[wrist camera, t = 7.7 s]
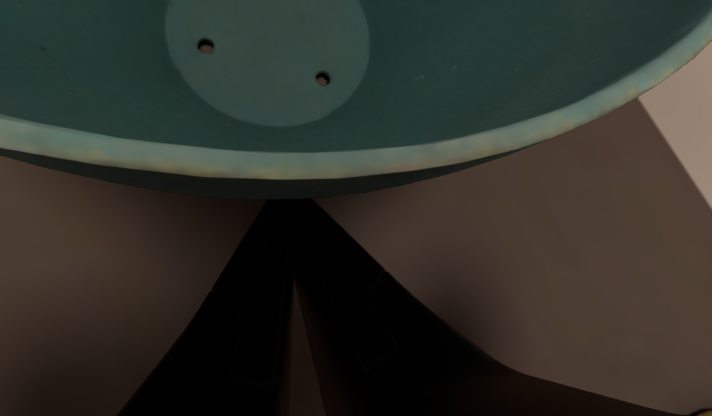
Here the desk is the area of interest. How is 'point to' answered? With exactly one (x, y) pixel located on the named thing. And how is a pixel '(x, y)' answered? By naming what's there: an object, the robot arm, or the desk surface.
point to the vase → (705, 413)
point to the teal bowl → (319, 86)
